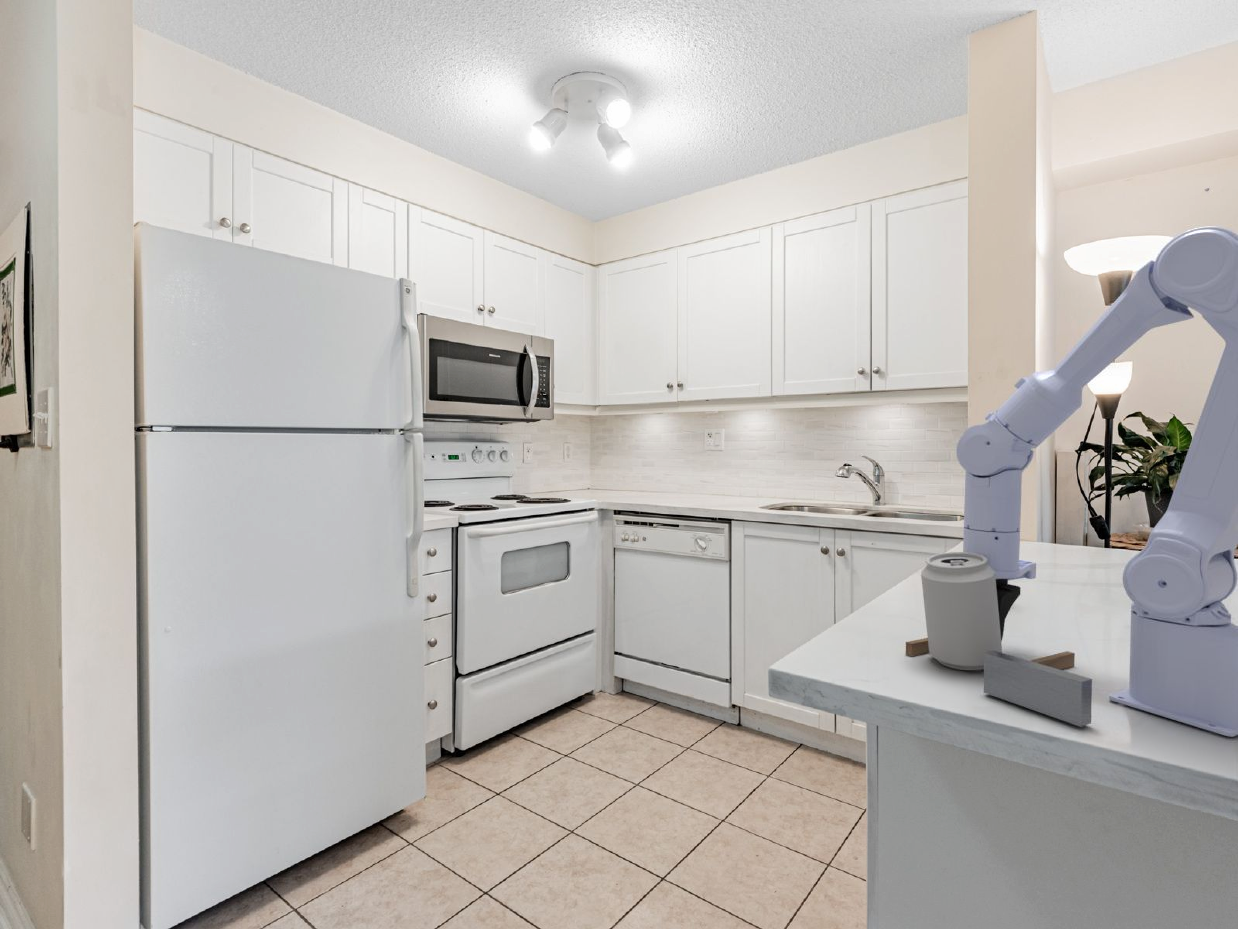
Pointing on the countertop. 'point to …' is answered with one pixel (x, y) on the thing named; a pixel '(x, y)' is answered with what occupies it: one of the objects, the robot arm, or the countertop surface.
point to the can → (961, 609)
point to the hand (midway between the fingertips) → (987, 644)
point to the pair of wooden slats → (1053, 661)
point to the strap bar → (1038, 687)
